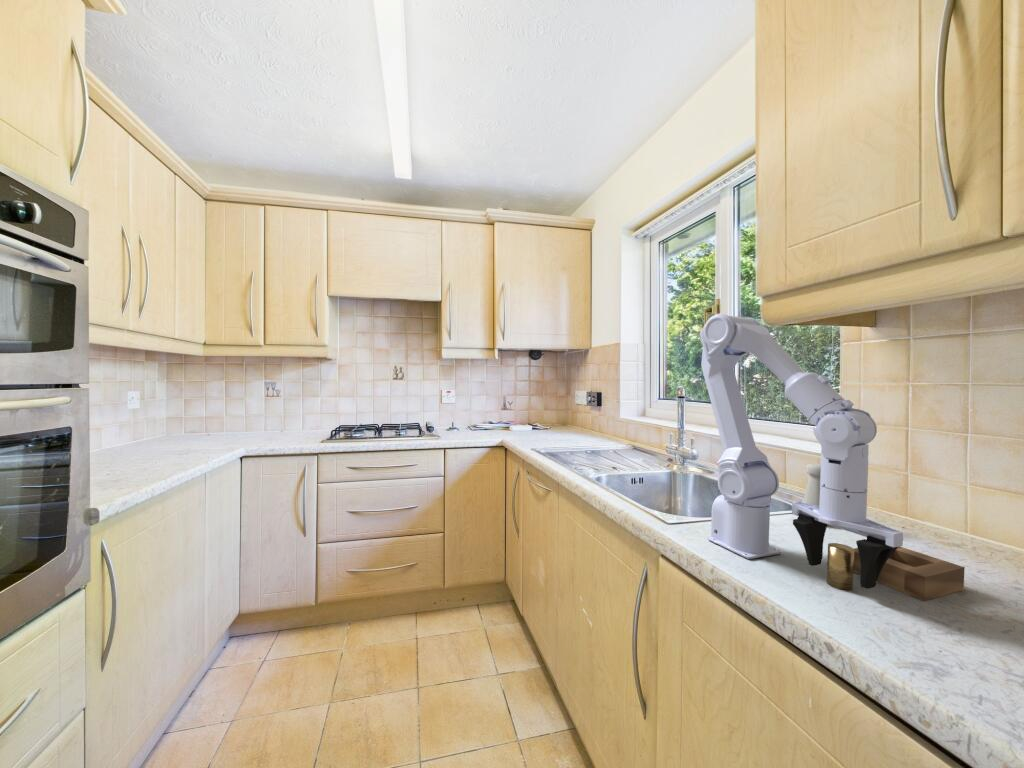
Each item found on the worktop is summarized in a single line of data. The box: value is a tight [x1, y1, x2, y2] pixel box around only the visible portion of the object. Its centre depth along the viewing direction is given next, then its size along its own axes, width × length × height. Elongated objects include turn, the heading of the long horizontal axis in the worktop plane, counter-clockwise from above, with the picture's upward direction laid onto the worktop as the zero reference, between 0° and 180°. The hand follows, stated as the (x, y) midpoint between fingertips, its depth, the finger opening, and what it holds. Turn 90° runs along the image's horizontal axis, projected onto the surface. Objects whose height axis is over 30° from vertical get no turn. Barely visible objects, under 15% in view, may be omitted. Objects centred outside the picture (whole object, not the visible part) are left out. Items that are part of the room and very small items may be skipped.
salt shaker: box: [802, 462, 821, 506], centre depth 93 cm, size 6×6×13 cm
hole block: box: [853, 546, 966, 602], centre depth 67 cm, size 10×10×4 cm
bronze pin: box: [826, 542, 854, 592], centre depth 65 cm, size 3×3×6 cm
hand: (840, 575), depth 65 cm, fingers open, 7 cm apart
